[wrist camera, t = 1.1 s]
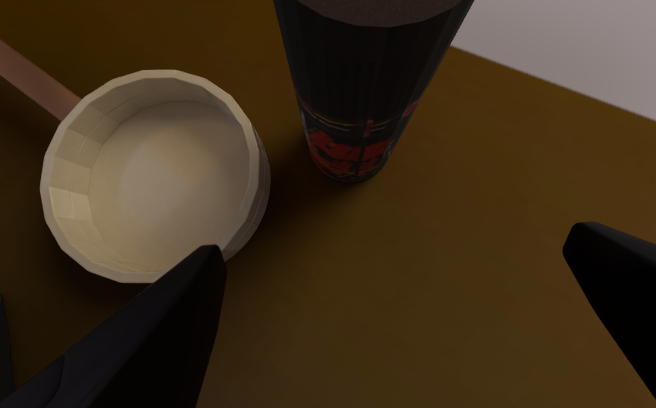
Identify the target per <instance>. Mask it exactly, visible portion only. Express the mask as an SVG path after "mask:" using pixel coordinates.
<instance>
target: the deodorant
mask: <svg viewBox="0 0 656 408" xmlns="http://www.w3.org/2000/svg"><path fill="white" fill-rule="evenodd" d="M273 1H274V6H275V10H276V14H277V18H278V22H279V26H280V30H281V35H282V39H283V43H284V47H285V51H286V55H287V60H288V64H289V68H290V72H291V76H292V80H293V84H294V89H295V93H296V97H297V101H298V105H299V109H300V113H301V118H302V122H303V126H304V130H305V134H306V138H307V143H308V147H309V151H310V155H311V157H312V159H313V161H314V163H315V165H316V166H317V167H318V168H319V169H320V170H321V172H322V173H324V174H325V175H327V176H329V177H330V178H332V179H335V180H338V181H341V182H358V181H363V180H365V179H368V178H370V177H372V176H374V175H375V174H376V173H377V172H378V171H379V170H381V169H382V167H383V166H384V164H385V163H386V161H387V160H388V158H389V156H390V154H391V153H392V151H393V149H394V147H395V145H396V143H397V142H398V140H399V138H400V136H401V134H402V132H403V130H404V129H405V127H406V125H407V123H408V121H409V119H410V118H411V116H412V114H413V112H414V110H415V108H416V107H417V105H418V103H419V101H420V99H421V97H422V96H423V94H424V92H425V90H426V88H427V86H428V85H429V83H430V81H431V79H432V77H433V75H434V74H435V72H436V70H437V68H438V66H439V64H440V62H441V61H442V59H443V57H444V55H445V53H446V51H447V50H448V48H449V46H450V44H451V42H452V40H453V39H454V36H455V35H456V33H457V31H458V29H459V28H460V26H461V24H462V22H463V20H464V18H465V17H466V15H467V13H468V11H469V9H470V7H471V6H472V4H473V2H474V0H273Z"/></svg>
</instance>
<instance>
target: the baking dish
mask: <svg viewBox="0 0 656 408" xmlns="http://www.w3.org/2000/svg"><path fill="white" fill-rule="evenodd" d="M14 391H15V389H14V380H13V371H12V362H11V353H10V344H9V334H8V325H7V320H6V314H5V309H4V303H3V298H2V294H0V402H1V401H2V400H4V399H5V398H7V397H8V396H9V395H10V394H12V393H13V392H14Z"/></svg>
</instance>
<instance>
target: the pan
mask: <svg viewBox="0 0 656 408" xmlns="http://www.w3.org/2000/svg"><path fill="white" fill-rule="evenodd" d="M60 124H61V125H59V126H58V129H57V131H56V133H55V135H54V137H53V139H52V141H51V143H50V145H49V147H48V149H47V151H46V153H45V156H44V163H43V169H42V176H41V182H40V194H41V200H42V205H43V211H44V217H45V221H46V223H47V225H48V227H49V228H50V230H51V232H52V234H53V235H54V237H55V239H56V241H57V242H58V244H59V246H60V248H61V249H62V250H63V251H64V252H65V253H66V254H68V255H69V256H70V257H71V258H72V259H74V260H75V261H76V262H77V263H79V264H80V265H81V266H82V267H83V268H85V269H86V270H87V271H89V272H91V273H94V274H97V275H100V276H103V277H105V278H108V279H111V280H114V281H117V282H120V283H154V282H155V281H156V280H158V279H159V278H160V277H161V276H163V275H164V274H165V273H166V272H168V271H169V270H170V269H172V268H173V267H174V266H175V265H177V264H178V263H179V262H180V261H182V260H183V259H184V258H185V257H187V256H188V255H189V254H191V253H192V252H193V251H194V250H196V249H197V248H198V247H200V246H201V245H210V244H216V245H218V246H219V247H220V249H221V253H222V256H223V259H224V262H226V261H227V260H228V259H230V258H231V257H233V256H234V255H235V254H236V253H237V252H238V251H239V250H240V249H241V248H243V246H244V245H245V244H246V243H247V242H248V241H249V239H250V238H251V237H252V235H253V234H254V232H255V231H256V229H257V228H258V226H259V224H260V222H261V220H262V218H263V216H264V213H265V210H266V207H267V204H268V199H269V194H270V183H271V178H270V167H269V162H268V157H267V154H266V151H265V148H264V146H263V143H262V140H261V138H260V136H259V135H258V133H257V132H256V130H255V128H254V127H253V125H252V124H251V122H250V121H249V119H248V118H247V116H246V115H245V114H244V112H243V111H242V110H241V108H240V107H239V106H238V104H237V103H236V101H235V100H234V99H233V97H231V96H230V95H229V94H228V93H226V92H225V91H223V90H222V89H220V88H219V87H217V86H216V85H214V84H213V83H212V82H210V81H209V80H207V79H205V78H202V77H198V76H195V75H192V74H188V73H185V72H181V71H178V70H143V71H139V72H136V73H132V74H129V75H126V76H123V77H119V78H116V79H113V80H111V81H109V82H107V83H106V84H104V85H103V86H101V87H100V88H98V89H96V90H95V91H93V92H92V93H90V94H89V95H87V96H86V97H84V98H83V99H82V100H81V101H80V102H79V103H78V104H77V105H76V106H75V107H74V109H73V110H72V111H71V112H70V113H69V114H68V115H67V116H66V118H65V119H64V120H63V121H62V122H61V123H60Z"/></svg>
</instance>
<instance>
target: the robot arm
mask: <svg viewBox="0 0 656 408" xmlns="http://www.w3.org/2000/svg"><path fill="white" fill-rule="evenodd" d="M563 256H564V258H565V260H566V262H567V264H568V265H569V267H570V269H571V271H572V273H573V274H574V276H575V278H576V280H577V281H578V283H579V285H580V287H581V289H582V290H583V292H584V294H585V296H586V297H587V299H588V301H589V303H590V304H591V306H592V308H593V309H594V311H595V313H596V314H597V316H598V317H599V319H600V320H601V322H602V323H603V324H604V326H605V327H606V329H607V330H608V332H609V333H610V335H611V336H612V337H613V339H614V340H615V342H616V343H617V345H618V346H619V347H620V349H621V350H622V352H623V353H624V355H625V356H626V357H627V359H628V360H629V362H630V363H631V365H632V366H633V368H634V369H635V370H636V372H637V373H638V375H639V376H640V378H641V379H642V380H643V382H644V383H645V385H646V386H647V388H648V389H649V391H650V392H651V393H652V395H653V396H654V398H655V399H656V244H654V243H651V242H648V241H645V240H643V239H640V238H637V237H635V236H632V235H629V234H627V233H624V232H621V231H619V230H616V229H613V228H611V227H608V226H605V225H603V224H600V223H597V222H579V223H576V224H575V225H574V226H573V227H572V228H571V231H570V233H569V235H568V237H567V239H566V242H565V244H564V246H563ZM226 278H227V269H226V265H225V262H224V259H223V256H222V253H221V249H220V247H219V246H218V245H216V244H210V245H201V246H200V247H198V248H197V249H196V250H194V251H193V252H192V253H191V254H189V255H188V256H187V257H185V258H184V259H183V260H182V261H180V262H179V263H178V264H177V265H175V266H174V267H173V268H172V269H170V270H169V271H168V272H166V273H165V274H164V275H163V276H161V277H160V278H159V279H158V280H156V281H155V282H154V283H152V284H151V285H150V286H149V287H147V288H146V289H145V290H144V291H142V292H141V293H140V294H138V295H137V296H136V297H135V298H133V299H132V300H131V301H130V302H128V303H127V304H126V305H125V306H123V307H122V308H121V309H119V310H118V311H117V312H116V313H114V314H113V315H112V316H111V317H109V318H108V319H107V320H105V321H104V322H103V323H102V324H100V325H99V326H98V327H97V328H95V329H94V330H93V331H91V332H90V333H89V334H88V335H86V336H85V337H84V338H83V339H81V340H80V341H79V342H78V343H76V344H75V345H74V346H72V347H71V348H70V349H69V350H67V351H66V353H65V355H61V356H60V357H58V358H57V359H56V360H55V361H53V362H52V363H51V364H49V365H48V366H47V367H46V368H44V369H43V370H42V371H41V372H39V373H38V374H37V375H35V376H34V377H33V378H31V379H30V380H29V381H27V382H26V383H25V384H24V385H22V386H21V387H20V388H18V389H17V390H16V391H14V392H13V393H12V394H10V395H9V396H8V397H7V398H5V399H4V400H2V401H1V402H0V408H196V404H197V401H198V397H199V394H200V390H201V387H202V383H203V380H204V377H205V373H206V370H207V366H208V363H209V359H210V356H211V352H212V349H213V345H214V342H215V338H216V334H217V330H218V325H219V319H220V313H221V307H222V302H223V296H224V290H225V284H226Z"/></svg>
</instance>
